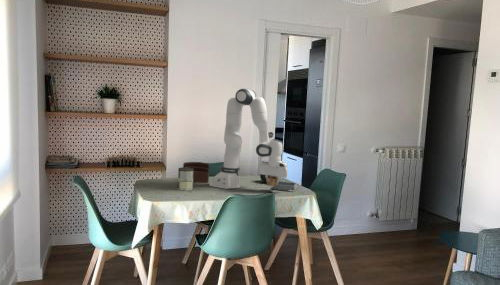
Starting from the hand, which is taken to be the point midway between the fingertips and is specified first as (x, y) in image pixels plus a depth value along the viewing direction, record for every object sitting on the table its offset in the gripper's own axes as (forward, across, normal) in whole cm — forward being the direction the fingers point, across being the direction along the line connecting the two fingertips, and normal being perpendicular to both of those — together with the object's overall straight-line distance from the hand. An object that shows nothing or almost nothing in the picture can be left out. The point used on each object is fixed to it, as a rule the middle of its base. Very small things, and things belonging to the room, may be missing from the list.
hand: (272, 182), depth 286 cm
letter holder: (+10, -60, +4) cm, 61 cm away
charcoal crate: (+6, +7, +13) cm, 16 cm away
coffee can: (+10, -55, -24) cm, 61 cm away
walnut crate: (+2, 0, 0) cm, 2 cm away
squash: (+7, -10, +30) cm, 32 cm away
